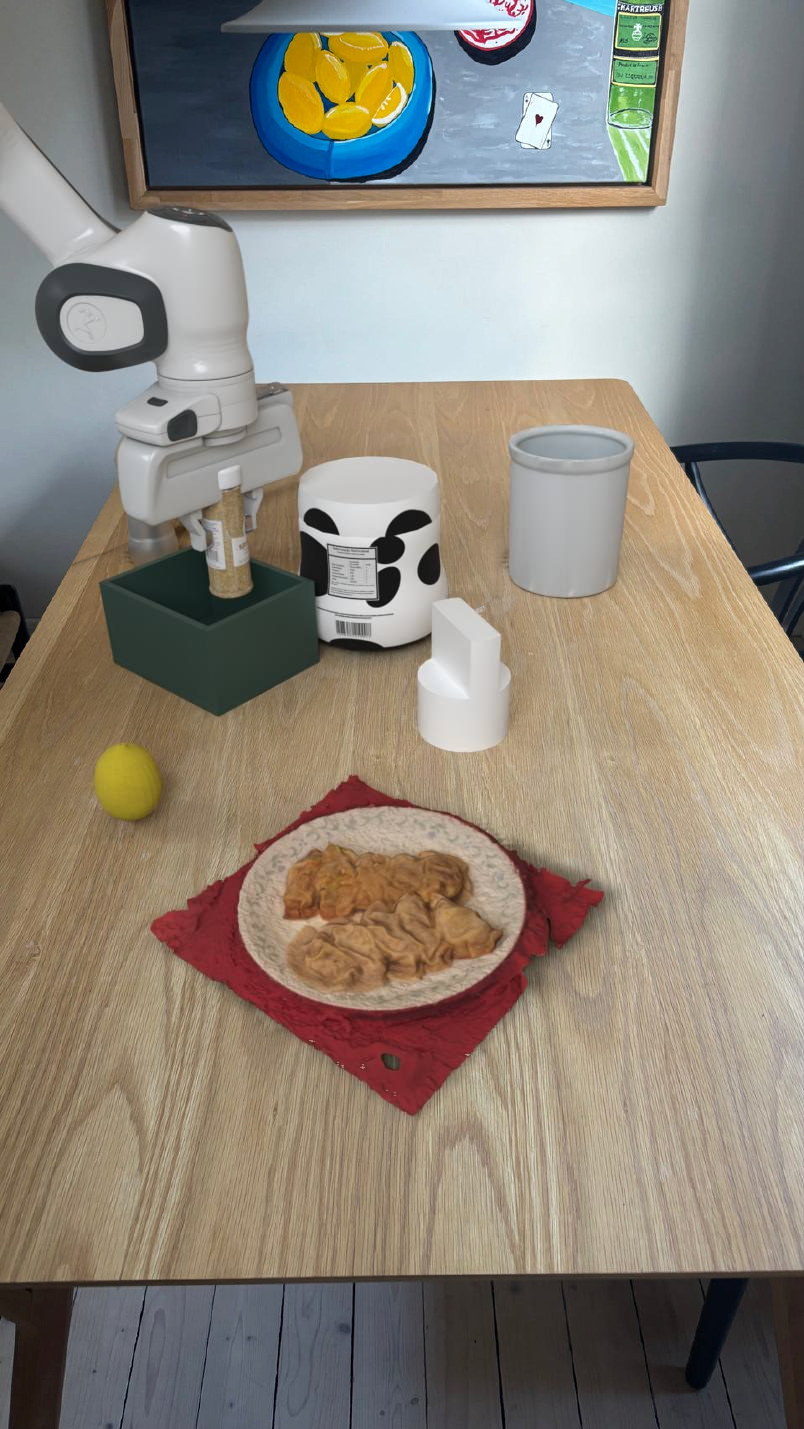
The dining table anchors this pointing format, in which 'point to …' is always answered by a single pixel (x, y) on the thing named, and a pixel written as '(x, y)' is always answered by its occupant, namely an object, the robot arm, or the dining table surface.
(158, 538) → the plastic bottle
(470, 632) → the cylinder with rectangular tab
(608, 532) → the utensil holder
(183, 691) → the bin
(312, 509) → the milk container
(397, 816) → the plate with food
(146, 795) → the lemon
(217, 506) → the sprinkles bottle
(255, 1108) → the dining table surface
